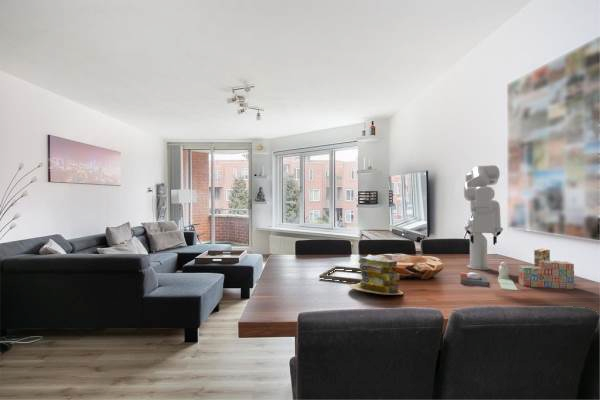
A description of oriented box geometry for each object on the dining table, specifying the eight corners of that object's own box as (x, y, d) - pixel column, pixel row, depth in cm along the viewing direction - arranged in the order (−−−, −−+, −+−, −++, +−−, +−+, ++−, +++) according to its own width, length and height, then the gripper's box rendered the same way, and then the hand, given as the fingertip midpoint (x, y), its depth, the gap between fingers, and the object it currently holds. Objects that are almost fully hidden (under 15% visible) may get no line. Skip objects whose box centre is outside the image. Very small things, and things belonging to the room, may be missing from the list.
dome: (466, 276, 175) (466, 271, 175) (480, 277, 173) (480, 272, 172) (466, 279, 170) (466, 274, 170) (480, 280, 167) (480, 275, 167)
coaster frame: (335, 270, 202) (335, 265, 202) (378, 274, 191) (378, 269, 191) (319, 279, 179) (319, 275, 179) (366, 285, 167) (366, 280, 167)
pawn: (497, 276, 182) (497, 260, 182) (508, 277, 180) (508, 261, 180) (498, 278, 178) (498, 262, 178) (509, 279, 176) (509, 263, 175)
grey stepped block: (460, 278, 179) (460, 268, 179) (486, 280, 174) (485, 270, 174) (460, 283, 168) (460, 272, 168) (487, 286, 163) (487, 275, 163)
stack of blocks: (523, 286, 163) (523, 261, 163) (518, 283, 169) (518, 259, 169) (574, 289, 158) (574, 263, 158) (567, 285, 164) (567, 261, 164)
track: (497, 279, 177) (497, 278, 177) (511, 280, 174) (511, 279, 174) (501, 289, 158) (501, 288, 158) (517, 290, 155) (517, 289, 155)
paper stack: (370, 283, 171) (370, 251, 171) (413, 293, 152) (413, 257, 152) (337, 292, 155) (337, 257, 155) (381, 305, 136) (381, 264, 136)
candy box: (542, 279, 175) (542, 251, 175) (533, 278, 179) (533, 249, 179) (550, 277, 180) (550, 249, 180) (541, 275, 184) (541, 248, 184)
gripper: (464, 210, 170) (464, 243, 170) (503, 211, 162) (503, 245, 162) (464, 210, 177) (464, 242, 177) (502, 210, 169) (502, 244, 168)
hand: (483, 243), depth 169 cm, fingers open, 9 cm apart
